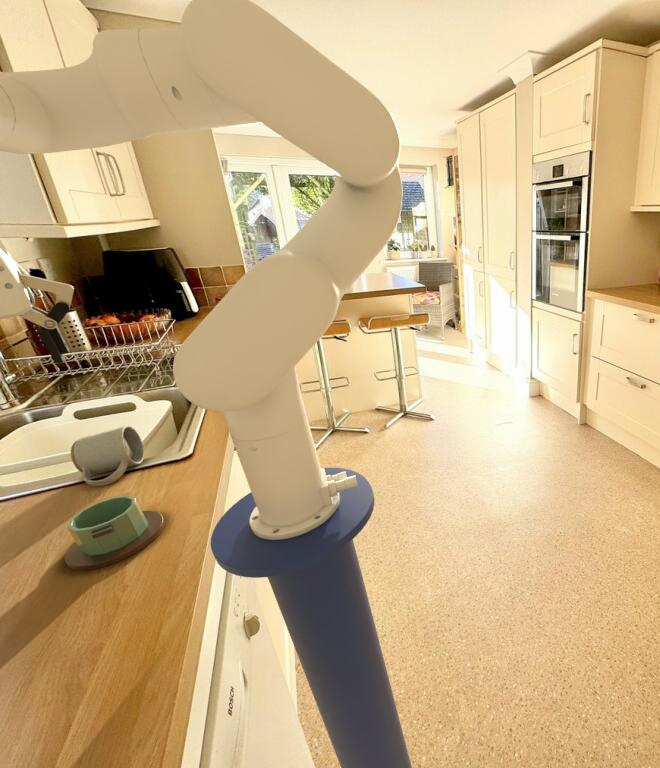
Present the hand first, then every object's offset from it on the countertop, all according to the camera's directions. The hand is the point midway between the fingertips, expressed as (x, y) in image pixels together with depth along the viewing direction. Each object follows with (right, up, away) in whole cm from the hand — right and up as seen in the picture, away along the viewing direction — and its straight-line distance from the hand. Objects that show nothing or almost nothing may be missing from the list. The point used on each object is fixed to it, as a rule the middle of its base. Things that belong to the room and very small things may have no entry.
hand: (0, 372), depth 46 cm
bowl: (-1, -24, +14) cm, 28 cm away
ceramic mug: (-17, -18, +32) cm, 40 cm away
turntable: (-1, -25, +15) cm, 29 cm away
